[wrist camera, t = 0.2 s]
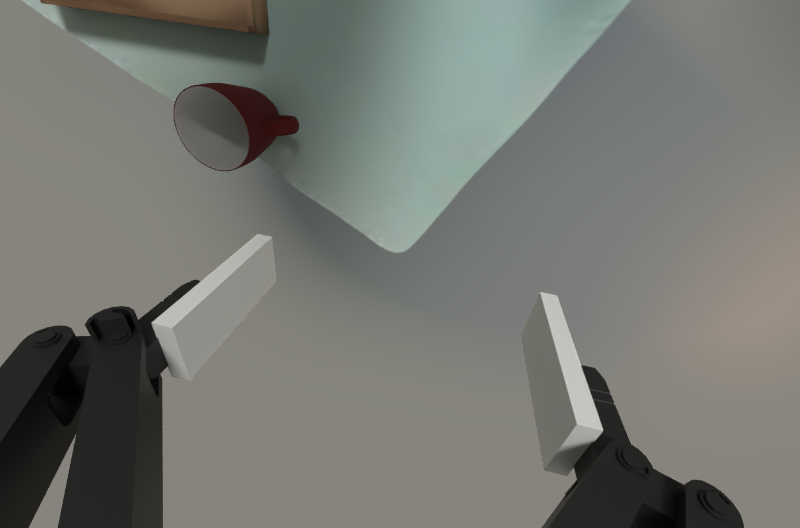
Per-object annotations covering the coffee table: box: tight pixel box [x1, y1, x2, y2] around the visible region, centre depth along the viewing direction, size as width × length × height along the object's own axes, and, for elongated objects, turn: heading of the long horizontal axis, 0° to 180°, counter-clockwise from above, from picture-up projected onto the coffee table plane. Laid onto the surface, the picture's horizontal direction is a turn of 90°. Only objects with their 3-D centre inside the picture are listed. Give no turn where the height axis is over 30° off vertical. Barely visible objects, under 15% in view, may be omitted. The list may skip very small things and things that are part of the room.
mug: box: [174, 83, 299, 171], centre depth 37 cm, size 10×8×10 cm
